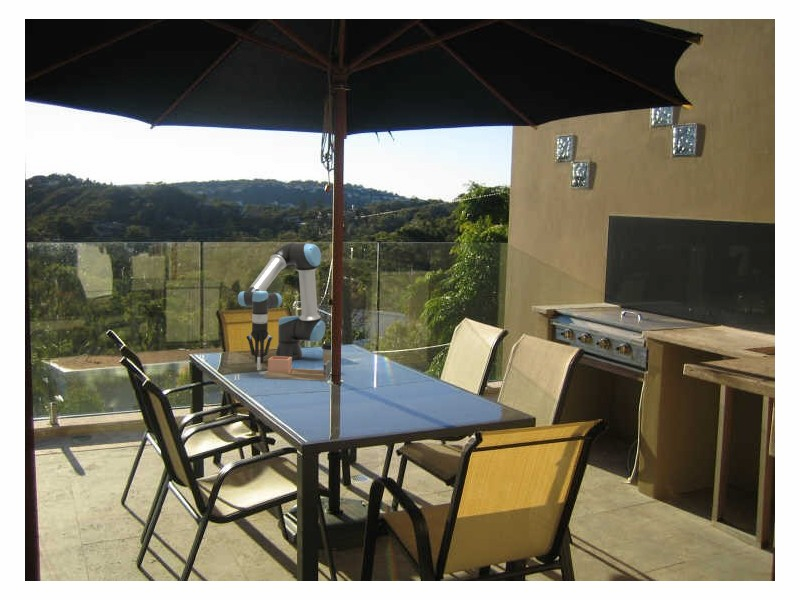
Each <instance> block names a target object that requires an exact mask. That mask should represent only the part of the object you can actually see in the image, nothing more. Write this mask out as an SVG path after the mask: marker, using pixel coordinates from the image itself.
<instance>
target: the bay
mask: <svg viewBox="0 0 800 600" xmlns="http://www.w3.org/2000/svg"><path fill="white" fill-rule="evenodd" d="M329 376H330V377H331V375H330V360H328V361H327V362H326V363H325V364H324V363H323V369H307V368H306V369H305V368H292V373H280V372H268V371H265V372H264V379H273V380H274V379H275V380H277V379H278V380H291V379H293V380H295V381H311V380H317V381H316V382H327V380H328V379H329V378H330V377H329Z"/></svg>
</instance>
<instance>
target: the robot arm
mask: <svg viewBox="0 0 800 600" xmlns="http://www.w3.org/2000/svg"><path fill="white" fill-rule="evenodd" d="M321 261H322V253H321V250H320V248H319V247H318V246H317V245H316V244H315V243H307V242H305V243H303V242H302V243H301V242H289V243H285V244H282V245H281V246H280V247H278V248H277V249H276V250H275V251H274V252H273V253H272V254H271V255H270V257H269V261H268V263H267V264H266V265H265V267H264V268H263V269H262V270H261V272H260V273H259V275H258V276H257V277H256V278H255V280H254V281H253V283H251V285H250V286H249V288H248V289H247V290H243V291H240V292H239V293H238V295H237V303H238V304H239V305H240V306H242V307H248V308H251V310H252V313H251V316H252V317H251V321H252V323H251V332H250V334H249V335H247V336H246V339H247V341H248V345H249V348H250V350H249V351H250V354H251V356H254V359H255V360H254V361H255V364H256V371H261V370H262V364H263V363H264V360H265V359H264V357H266V356H268V353H269V349H270V345H271V341H272V340H273V338H274V337H273V336H272V335H269V332H268V323H267V322H268V319H269V318H268V317H269V315H268V313H269V312H268V311H269V310H270V309H271V310H273V309H276V308H279V307H280V306H281V305H283V304H282V303H283V297H282V296H281V294H280V293H277V292H271V293H270V292H268V291H267V290H268V288H269V287H270V285H271V284H272V282H273V281H274V280H275V279H276V277H277V276H278V275H279V273H280V272H281V271H282V270H283V269H286V268H287V266H290V265H294V266H295V270H296V271H297V272H298V280H299V282H298V283H299V292H300V293H299V295H300V307H301V315H289V316H288V315H287V316H283V317H280V318H279V320H278V327H277V328H278V332H277V333H278V334H277V335H278V336H277V337H278V343H277V346H276V350H275V353H274V356H282V357H292V361H294V360H301V359H303V351H302V349H301V345H300V341H305V342H311V343H313V342H320V341H321V340H322V339H323V338H324V336H325V333H326V323H325V322H324V320H322V319H321V315H320V314H319V313H318V302H317V301H318V300H317V284H316V281H317V280H316V270H317V269H318V266H320V264H321ZM253 339H254V341H253ZM266 339H267V341H266V345H265V340H266ZM254 343H255V344H254Z"/></svg>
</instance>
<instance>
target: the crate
mask: <svg viewBox="0 0 800 600" xmlns="http://www.w3.org/2000/svg"><path fill="white" fill-rule="evenodd" d="M292 369H293V360H292V357H282V356H275V355H271V356H270V357H269V358H268V359H267V372H280V373H292Z"/></svg>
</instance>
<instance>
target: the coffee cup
mask: <svg viewBox="0 0 800 600" xmlns="http://www.w3.org/2000/svg"><path fill="white" fill-rule="evenodd" d="M331 343H332V342H328V343H327V342H325V343H323V344H322V346H321V349H322V360H323V361H322V363H323V365H324V364H325V363H326V362H327V361H328V360H330V372H331Z"/></svg>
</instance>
